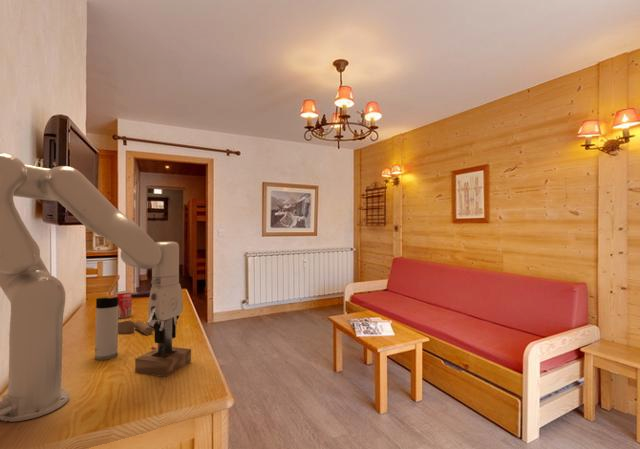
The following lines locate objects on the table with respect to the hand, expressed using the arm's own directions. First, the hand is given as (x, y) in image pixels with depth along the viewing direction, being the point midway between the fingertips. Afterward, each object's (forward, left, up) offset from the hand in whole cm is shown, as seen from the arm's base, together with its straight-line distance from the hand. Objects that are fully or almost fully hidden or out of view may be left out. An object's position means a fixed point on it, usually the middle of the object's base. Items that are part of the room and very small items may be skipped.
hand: (165, 339), depth 99 cm
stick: (+10, +10, -8) cm, 16 cm away
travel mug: (+1, +24, -8) cm, 26 cm away
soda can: (+40, +59, -8) cm, 72 cm away
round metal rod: (0, 0, -4) cm, 4 cm away
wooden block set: (+24, +31, -9) cm, 40 cm away
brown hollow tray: (0, 0, -8) cm, 8 cm away
